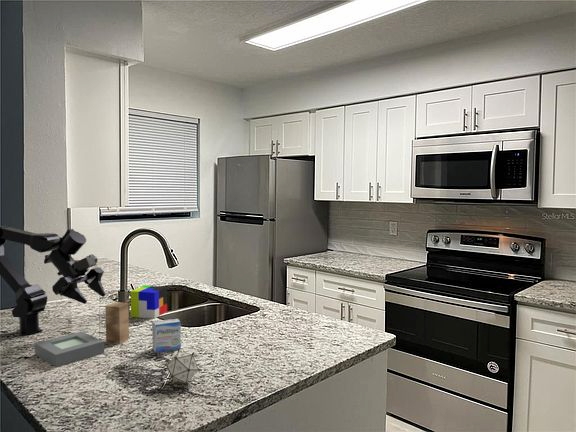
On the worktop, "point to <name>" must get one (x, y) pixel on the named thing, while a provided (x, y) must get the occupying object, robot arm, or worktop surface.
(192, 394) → the worktop surface
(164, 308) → the puzzle toy
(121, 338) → the post
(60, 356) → the base plate
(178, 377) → the game die
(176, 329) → the medicine box
